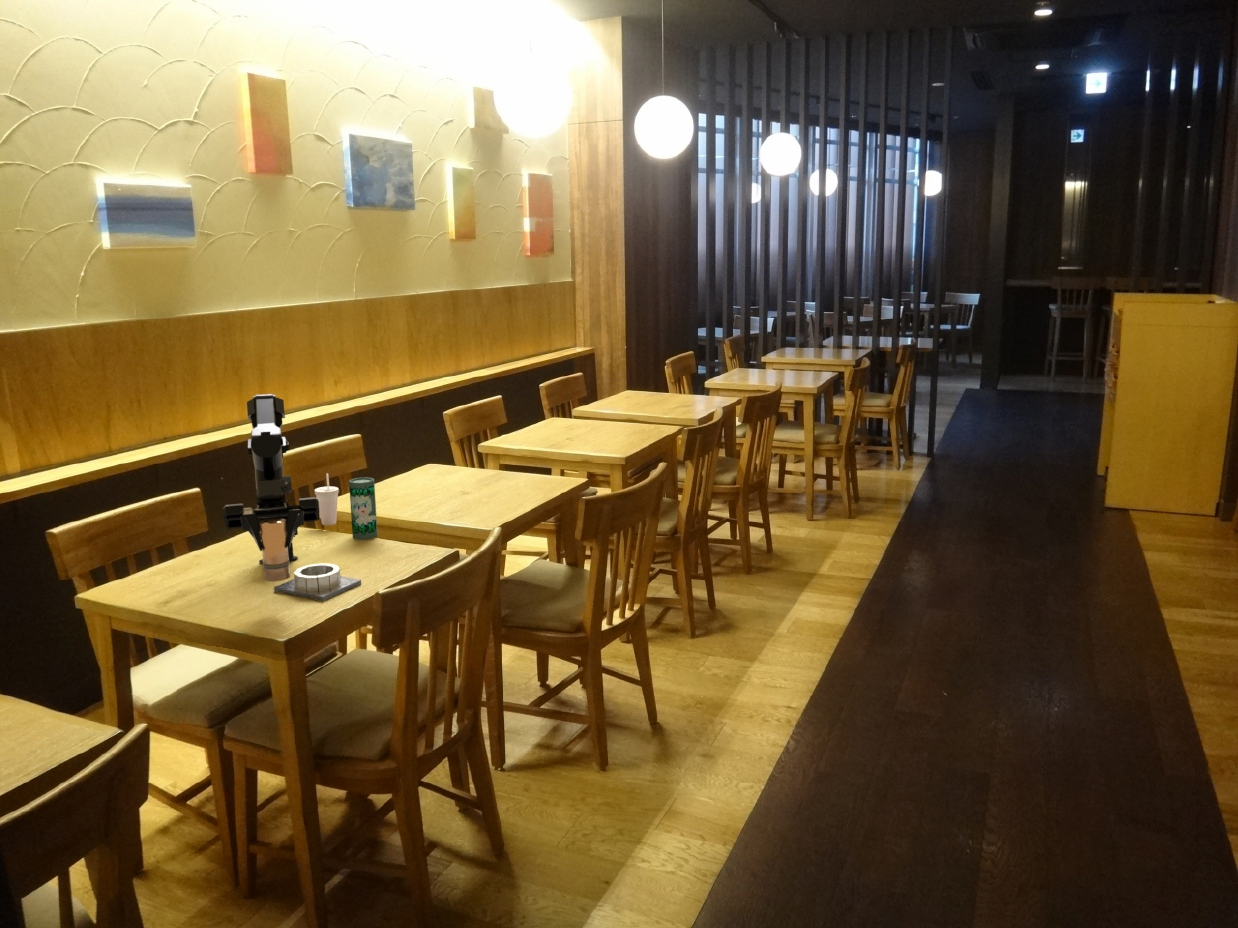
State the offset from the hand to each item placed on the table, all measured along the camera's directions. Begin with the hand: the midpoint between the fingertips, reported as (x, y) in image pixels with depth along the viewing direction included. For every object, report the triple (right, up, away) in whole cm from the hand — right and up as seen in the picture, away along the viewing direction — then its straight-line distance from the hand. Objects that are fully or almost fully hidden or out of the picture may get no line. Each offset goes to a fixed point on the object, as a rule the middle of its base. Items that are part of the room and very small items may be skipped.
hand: (274, 548), depth 199 cm
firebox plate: (+4, -10, +17) cm, 20 cm away
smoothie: (-9, +1, +66) cm, 67 cm away
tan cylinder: (0, -6, +3) cm, 7 cm away
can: (+4, -2, +55) cm, 55 cm away
